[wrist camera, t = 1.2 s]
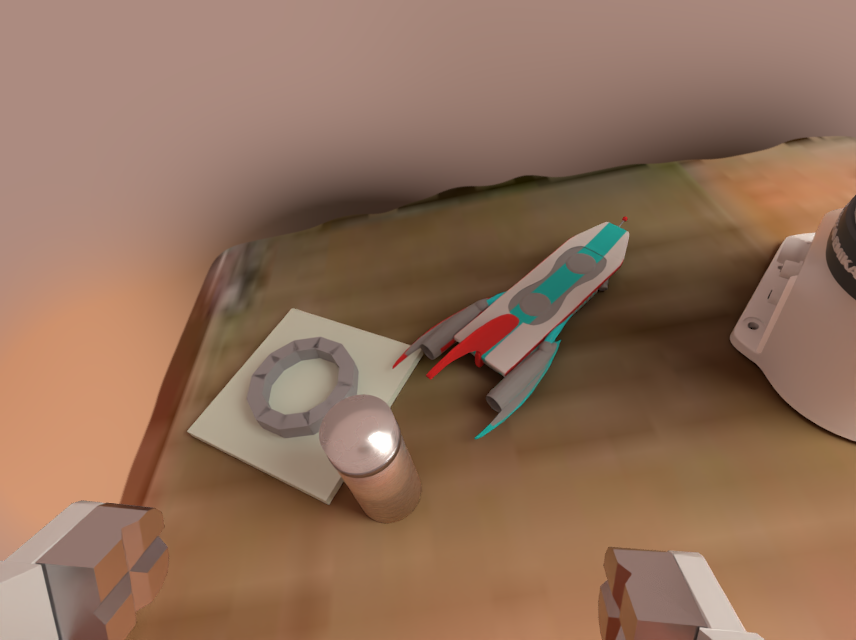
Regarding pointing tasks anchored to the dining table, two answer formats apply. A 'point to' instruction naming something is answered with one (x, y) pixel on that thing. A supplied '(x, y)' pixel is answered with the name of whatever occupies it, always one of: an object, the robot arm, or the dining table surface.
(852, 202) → the robot arm
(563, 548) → the dining table surface
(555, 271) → the toy spaceship
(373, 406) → the piston
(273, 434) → the ring plate
